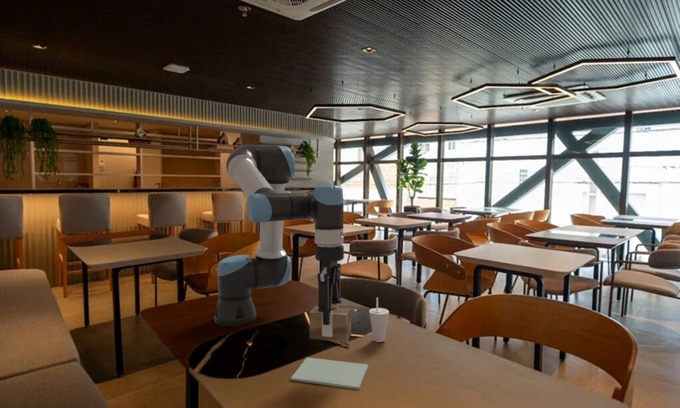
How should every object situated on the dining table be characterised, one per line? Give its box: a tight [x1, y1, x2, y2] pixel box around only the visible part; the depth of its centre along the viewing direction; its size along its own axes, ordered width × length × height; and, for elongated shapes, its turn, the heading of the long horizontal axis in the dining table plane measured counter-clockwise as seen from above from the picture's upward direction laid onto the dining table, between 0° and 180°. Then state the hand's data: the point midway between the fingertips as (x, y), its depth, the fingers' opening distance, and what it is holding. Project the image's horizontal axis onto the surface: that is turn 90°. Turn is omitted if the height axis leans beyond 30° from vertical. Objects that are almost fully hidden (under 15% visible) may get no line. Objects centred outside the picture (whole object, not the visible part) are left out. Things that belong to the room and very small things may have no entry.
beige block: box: [308, 305, 352, 342], centre depth 102 cm, size 5×10×7 cm, turn 75°
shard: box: [325, 340, 350, 347], centre depth 124 cm, size 11×8×2 cm
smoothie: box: [368, 297, 390, 343], centre depth 124 cm, size 6×6×14 cm
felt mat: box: [290, 356, 369, 390], centre depth 103 cm, size 18×12×1 cm, turn 75°
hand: (330, 331), depth 103 cm, fingers closed on beige block, 5 cm apart
